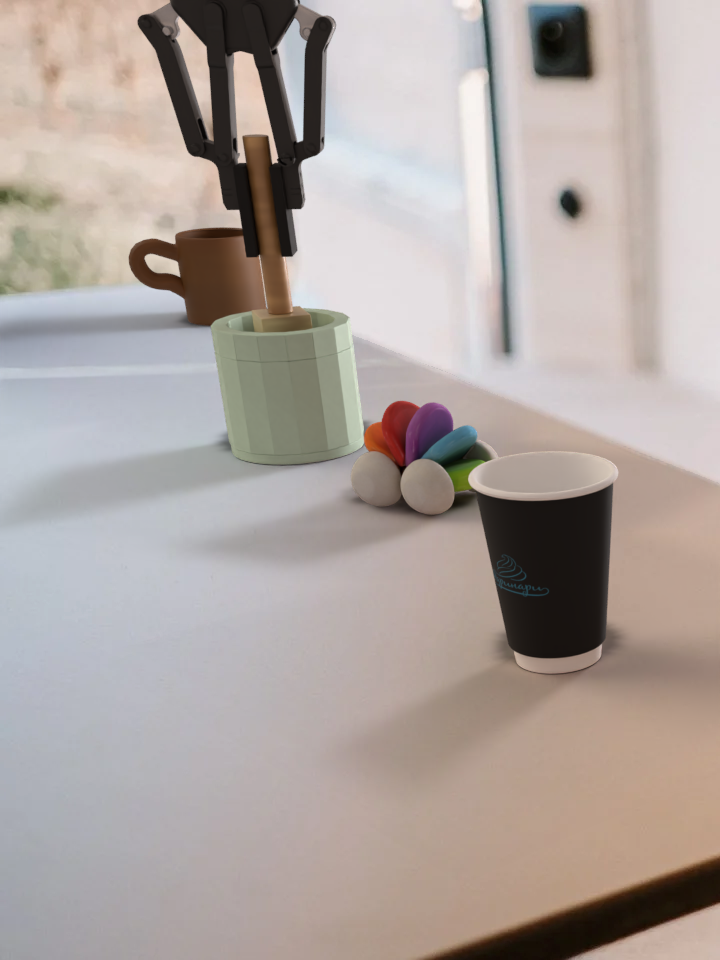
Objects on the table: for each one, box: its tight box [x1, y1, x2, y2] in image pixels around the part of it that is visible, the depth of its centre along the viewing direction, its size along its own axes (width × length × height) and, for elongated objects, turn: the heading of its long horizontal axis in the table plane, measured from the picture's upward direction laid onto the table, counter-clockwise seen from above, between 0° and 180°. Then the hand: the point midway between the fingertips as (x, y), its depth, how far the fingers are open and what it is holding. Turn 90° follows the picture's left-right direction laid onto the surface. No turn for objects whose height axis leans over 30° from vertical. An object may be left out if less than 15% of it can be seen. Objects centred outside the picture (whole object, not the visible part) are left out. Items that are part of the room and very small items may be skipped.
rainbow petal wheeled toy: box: [350, 400, 500, 516], centre depth 115 cm, size 8×10×7 cm
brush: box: [241, 133, 312, 333], centre depth 121 cm, size 4×4×16 cm
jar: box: [210, 307, 365, 466], centre depth 126 cm, size 10×10×10 cm
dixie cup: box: [468, 450, 619, 675], centre depth 90 cm, size 8×8×11 cm
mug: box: [128, 226, 268, 327], centre depth 163 cm, size 12×8×9 cm, turn 119°
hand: (272, 253), depth 122 cm, fingers closed on brush, 2 cm apart
